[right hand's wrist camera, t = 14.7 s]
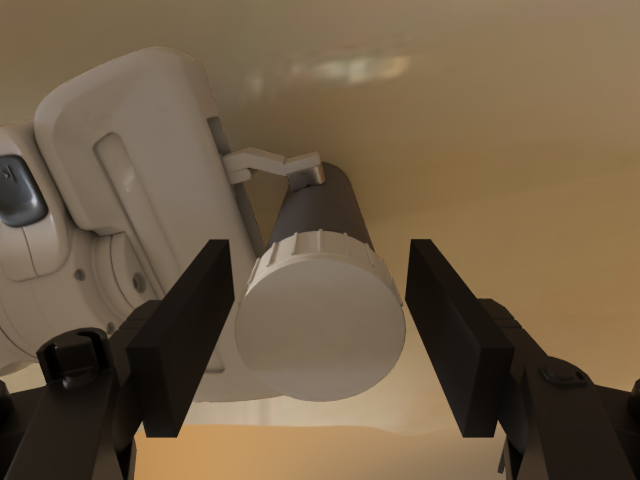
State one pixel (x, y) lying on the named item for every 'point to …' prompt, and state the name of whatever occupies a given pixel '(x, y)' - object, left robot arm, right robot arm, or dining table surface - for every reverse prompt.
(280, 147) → the dining table surface
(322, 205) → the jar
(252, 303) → the lid
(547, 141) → the dining table surface
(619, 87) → the dining table surface
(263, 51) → the dining table surface
